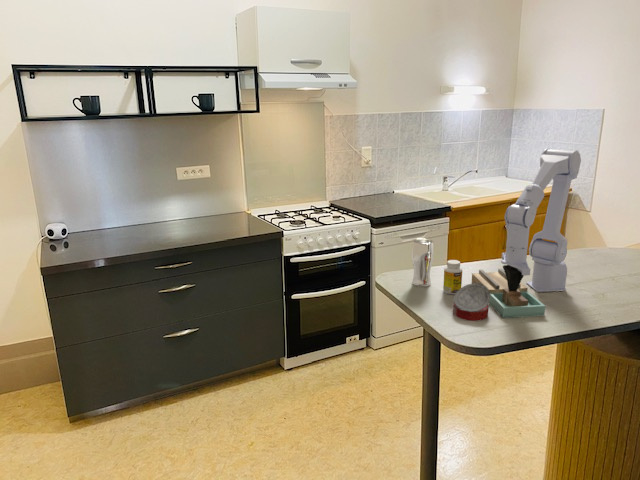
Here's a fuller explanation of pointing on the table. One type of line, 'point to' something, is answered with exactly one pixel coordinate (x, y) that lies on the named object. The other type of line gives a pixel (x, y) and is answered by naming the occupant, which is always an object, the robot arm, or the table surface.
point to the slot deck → (494, 281)
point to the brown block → (509, 294)
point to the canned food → (472, 302)
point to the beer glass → (422, 261)
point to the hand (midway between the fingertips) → (512, 289)
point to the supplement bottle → (452, 277)
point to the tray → (517, 311)
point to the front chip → (517, 301)
